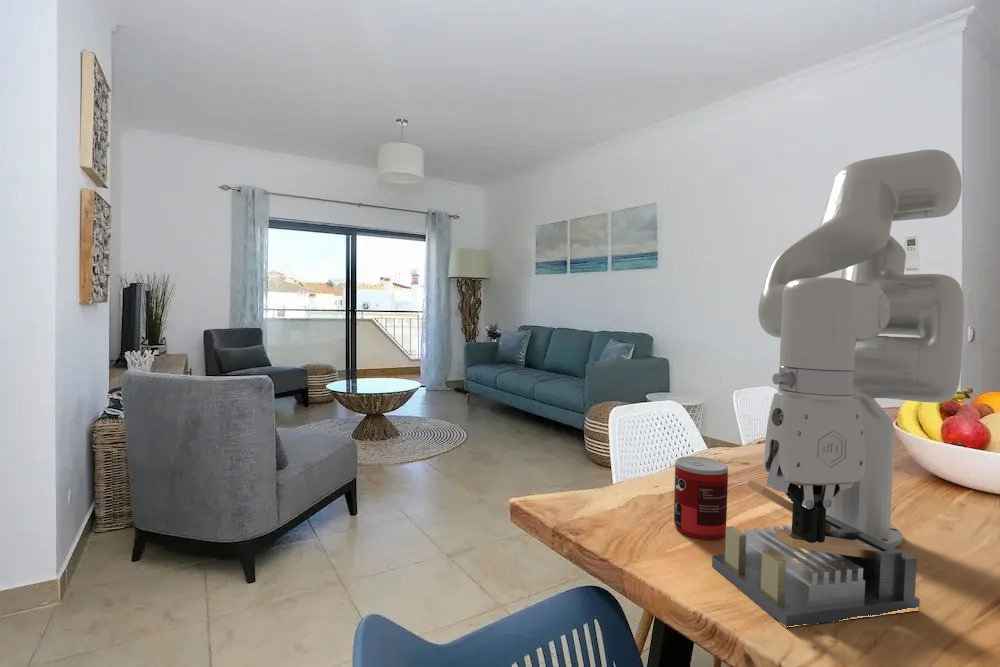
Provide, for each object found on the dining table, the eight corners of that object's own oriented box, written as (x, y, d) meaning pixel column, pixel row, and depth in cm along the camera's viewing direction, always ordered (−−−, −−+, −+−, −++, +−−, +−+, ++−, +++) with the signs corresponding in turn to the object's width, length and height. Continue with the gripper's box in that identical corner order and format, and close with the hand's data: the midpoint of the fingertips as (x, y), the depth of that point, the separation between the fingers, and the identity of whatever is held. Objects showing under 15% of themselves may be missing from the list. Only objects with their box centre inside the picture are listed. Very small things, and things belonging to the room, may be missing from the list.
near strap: (771, 535, 63) (773, 526, 63) (859, 548, 65) (861, 539, 65) (794, 550, 59) (797, 539, 59) (887, 563, 62) (889, 553, 62)
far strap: (743, 485, 70) (748, 477, 70) (814, 526, 72) (818, 519, 72) (763, 495, 66) (767, 487, 66) (836, 538, 69) (840, 530, 69)
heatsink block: (711, 566, 71) (713, 516, 71) (823, 555, 75) (825, 508, 74) (786, 628, 58) (788, 567, 57) (919, 611, 61) (921, 553, 61)
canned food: (683, 516, 89) (684, 453, 88) (732, 529, 83) (734, 462, 83) (666, 531, 83) (667, 463, 82) (717, 545, 78) (719, 474, 77)
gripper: (782, 387, 55) (774, 556, 56) (898, 388, 58) (890, 548, 59) (737, 379, 63) (731, 528, 63) (842, 380, 66) (835, 522, 66)
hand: (807, 537), depth 61 cm, fingers closed
